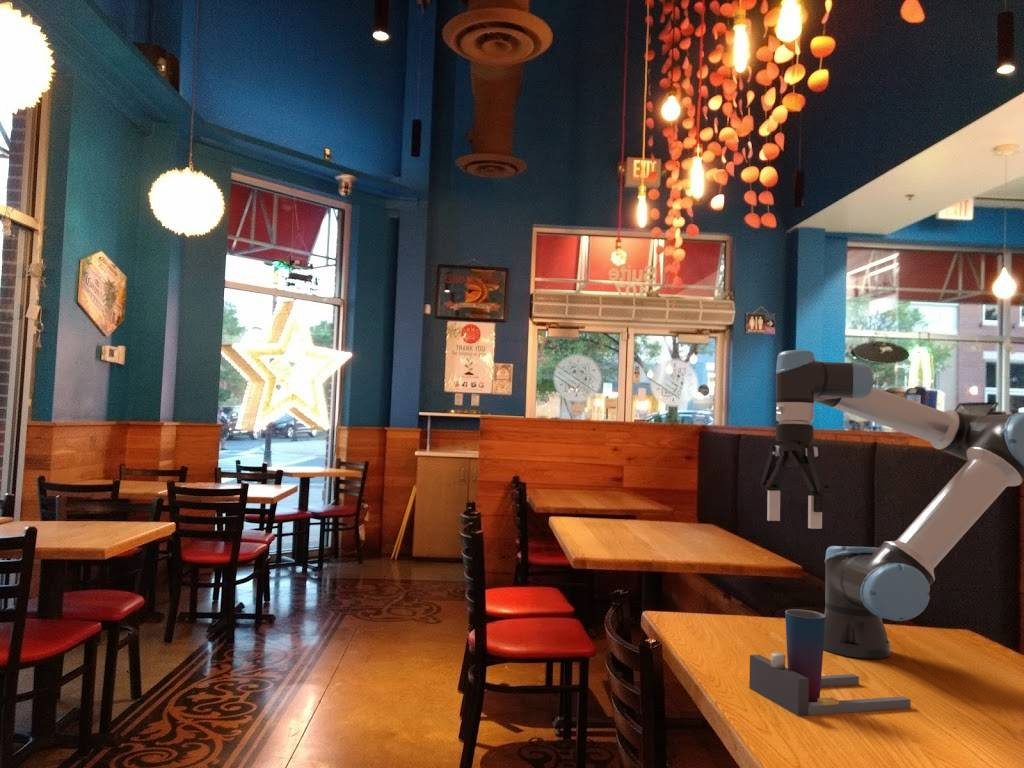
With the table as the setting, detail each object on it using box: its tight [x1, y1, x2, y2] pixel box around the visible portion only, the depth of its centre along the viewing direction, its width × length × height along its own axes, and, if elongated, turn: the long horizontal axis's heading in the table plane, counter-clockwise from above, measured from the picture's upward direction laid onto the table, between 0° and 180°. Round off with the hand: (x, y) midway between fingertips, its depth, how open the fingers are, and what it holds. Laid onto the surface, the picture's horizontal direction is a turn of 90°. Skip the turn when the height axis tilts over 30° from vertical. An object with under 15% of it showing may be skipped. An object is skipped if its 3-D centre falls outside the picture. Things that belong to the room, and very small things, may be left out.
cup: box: [784, 608, 826, 703], centre depth 132 cm, size 7×7×15 cm
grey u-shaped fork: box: [749, 652, 912, 717], centre depth 133 cm, size 23×14×8 cm, turn 106°
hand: (793, 524), depth 155 cm, fingers open, 13 cm apart
